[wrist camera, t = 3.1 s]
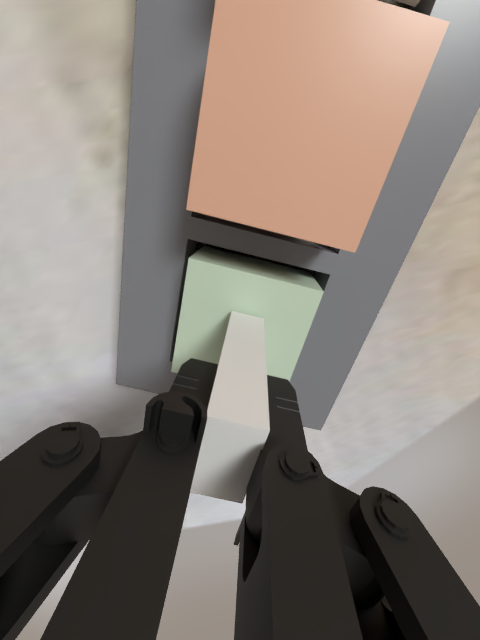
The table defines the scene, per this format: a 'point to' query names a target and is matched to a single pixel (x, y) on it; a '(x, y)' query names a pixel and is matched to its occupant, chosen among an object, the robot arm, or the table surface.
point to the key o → (244, 307)
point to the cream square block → (409, 2)
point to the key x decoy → (307, 112)
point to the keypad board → (330, 263)
